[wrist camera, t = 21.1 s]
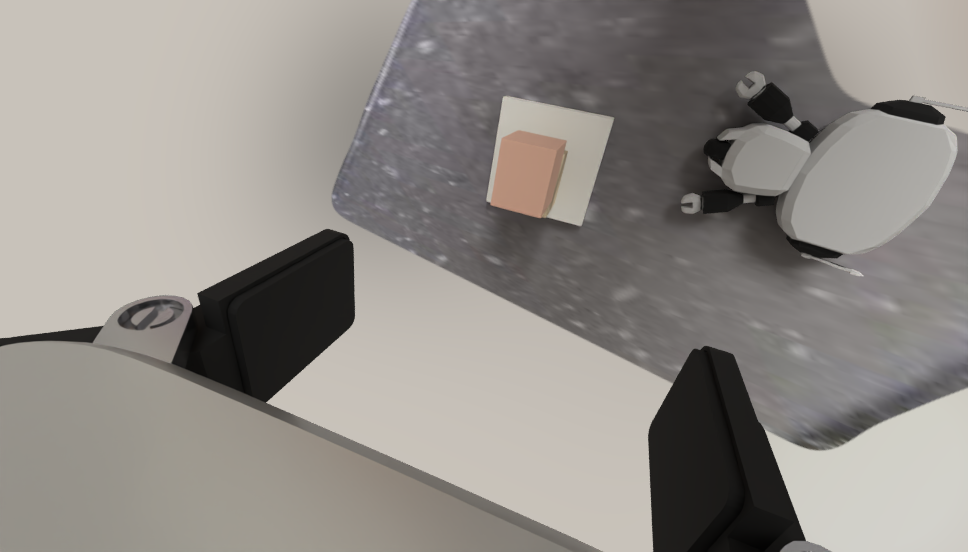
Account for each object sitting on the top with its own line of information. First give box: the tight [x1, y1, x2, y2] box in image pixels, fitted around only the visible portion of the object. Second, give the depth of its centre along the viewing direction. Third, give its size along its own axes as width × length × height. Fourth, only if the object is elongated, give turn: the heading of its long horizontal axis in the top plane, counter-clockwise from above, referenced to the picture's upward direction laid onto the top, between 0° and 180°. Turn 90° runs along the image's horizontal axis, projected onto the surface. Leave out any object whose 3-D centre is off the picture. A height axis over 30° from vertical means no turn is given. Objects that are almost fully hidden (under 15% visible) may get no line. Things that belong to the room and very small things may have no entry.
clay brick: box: [491, 130, 567, 218], centre depth 30 cm, size 5×4×5 cm
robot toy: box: [681, 71, 968, 276], centre depth 30 cm, size 12×4×15 cm
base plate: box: [486, 96, 615, 226], centre depth 37 cm, size 10×10×2 cm
